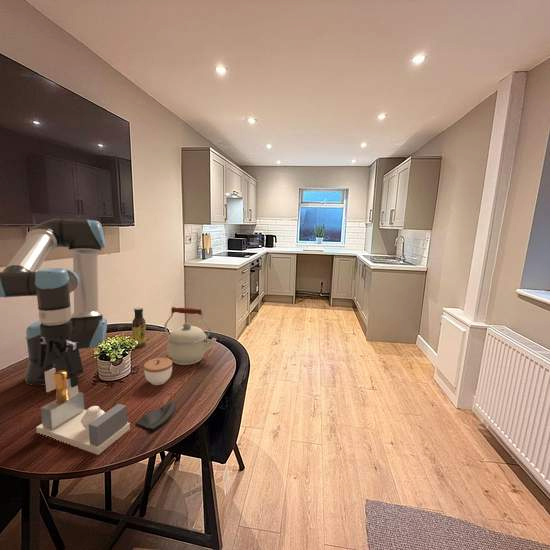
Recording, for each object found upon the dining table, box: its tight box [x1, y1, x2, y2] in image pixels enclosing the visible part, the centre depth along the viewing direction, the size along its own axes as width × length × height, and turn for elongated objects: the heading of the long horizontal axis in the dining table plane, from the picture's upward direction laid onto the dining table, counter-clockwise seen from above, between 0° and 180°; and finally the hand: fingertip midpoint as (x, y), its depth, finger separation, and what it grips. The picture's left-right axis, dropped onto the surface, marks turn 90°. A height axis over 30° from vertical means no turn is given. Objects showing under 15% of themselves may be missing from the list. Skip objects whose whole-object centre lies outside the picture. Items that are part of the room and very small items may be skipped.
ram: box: [40, 370, 85, 430], centre depth 88 cm, size 4×10×15 cm, turn 162°
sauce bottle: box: [131, 307, 147, 348], centre depth 148 cm, size 6×6×20 cm
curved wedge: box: [135, 400, 176, 432], centre depth 95 cm, size 8×14×2 cm, turn 154°
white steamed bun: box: [81, 405, 106, 431], centre depth 85 cm, size 6×6×7 cm
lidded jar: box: [143, 357, 174, 386], centre depth 115 cm, size 11×11×9 cm
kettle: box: [164, 306, 217, 366], centre depth 135 cm, size 25×18×25 cm
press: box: [35, 403, 131, 456], centre depth 86 cm, size 24×11×8 cm, turn 72°
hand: (62, 392), depth 88 cm, fingers open, 8 cm apart
